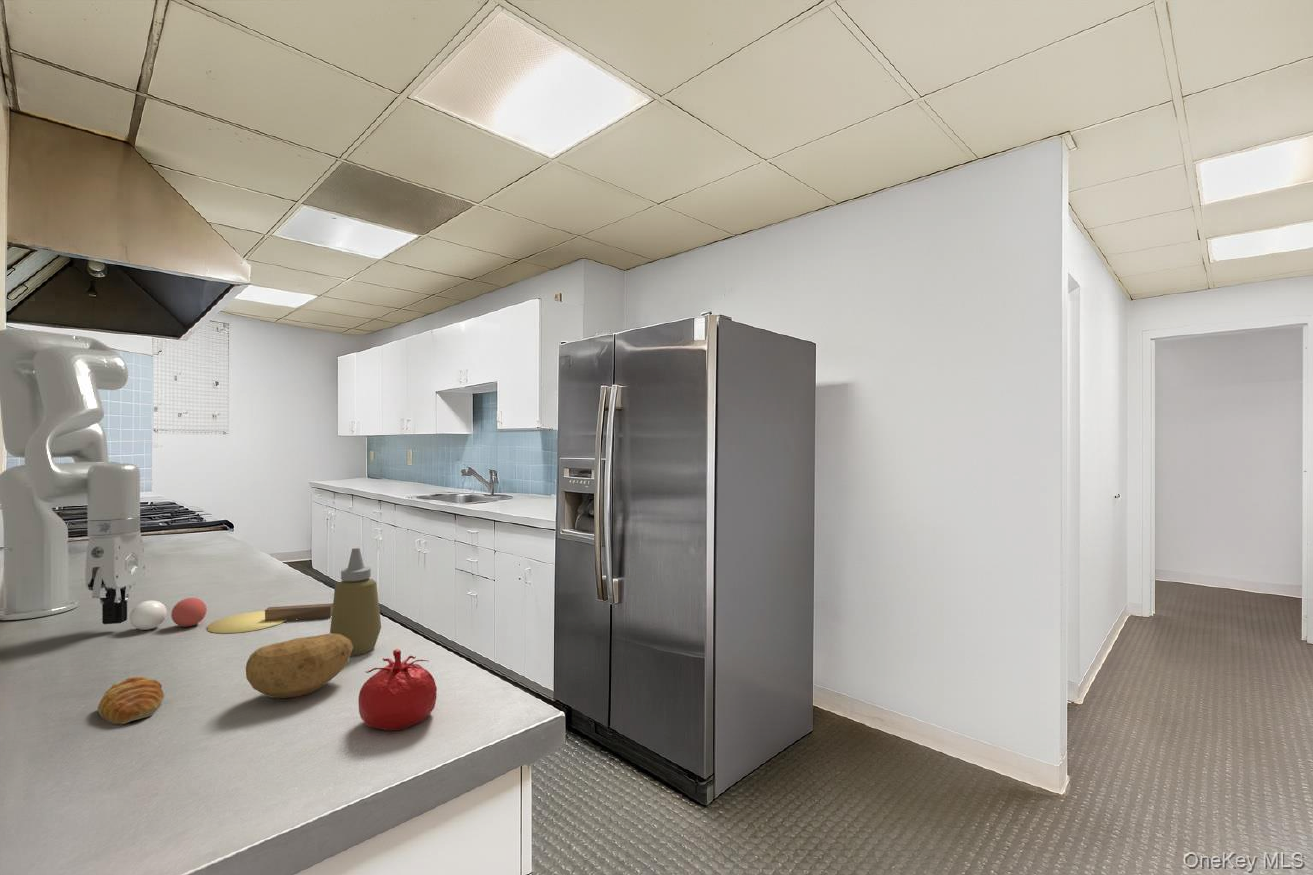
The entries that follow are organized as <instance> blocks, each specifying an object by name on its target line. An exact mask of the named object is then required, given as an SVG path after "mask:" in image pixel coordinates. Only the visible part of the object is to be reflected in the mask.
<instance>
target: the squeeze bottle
mask: <svg viewBox="0 0 1313 875" xmlns="http://www.w3.org/2000/svg"><path fill="white" fill-rule="evenodd" d="M362 556H363V555H362V552H361V548H360V547H353V548H351V552H350V557H349V562H348V565H347V568H344V569H342V570H341V571H340V579H341V581H339V582H338V583H337V584H336V585H334V592H333V601H332V602H333V609H332V617H331V618H330V628H329V629H330V630H329V634H330V633H331V634H341V635H343V636H345V637H347V638H348V639H349V640H351V642H352V645H353V649H352V652H351V654H350V656H351V657H352V656H358V655H363V654H366V653H368V652H371V651H372V650H374V649H375V647H376V645H377V642H378V639H379V638H378V637H379V635H380V633H381V629H382V622H381V620H382V619H381V612H380V611H381V610H380V603H379V596H378V594H379V593H378V587H377V586H378V584H377V581H376V580H374V579H373V578H371V572H372V571H371V570H372V569H371V567H370V566H365V564H364V561H363V557H362Z"/></svg>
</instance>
